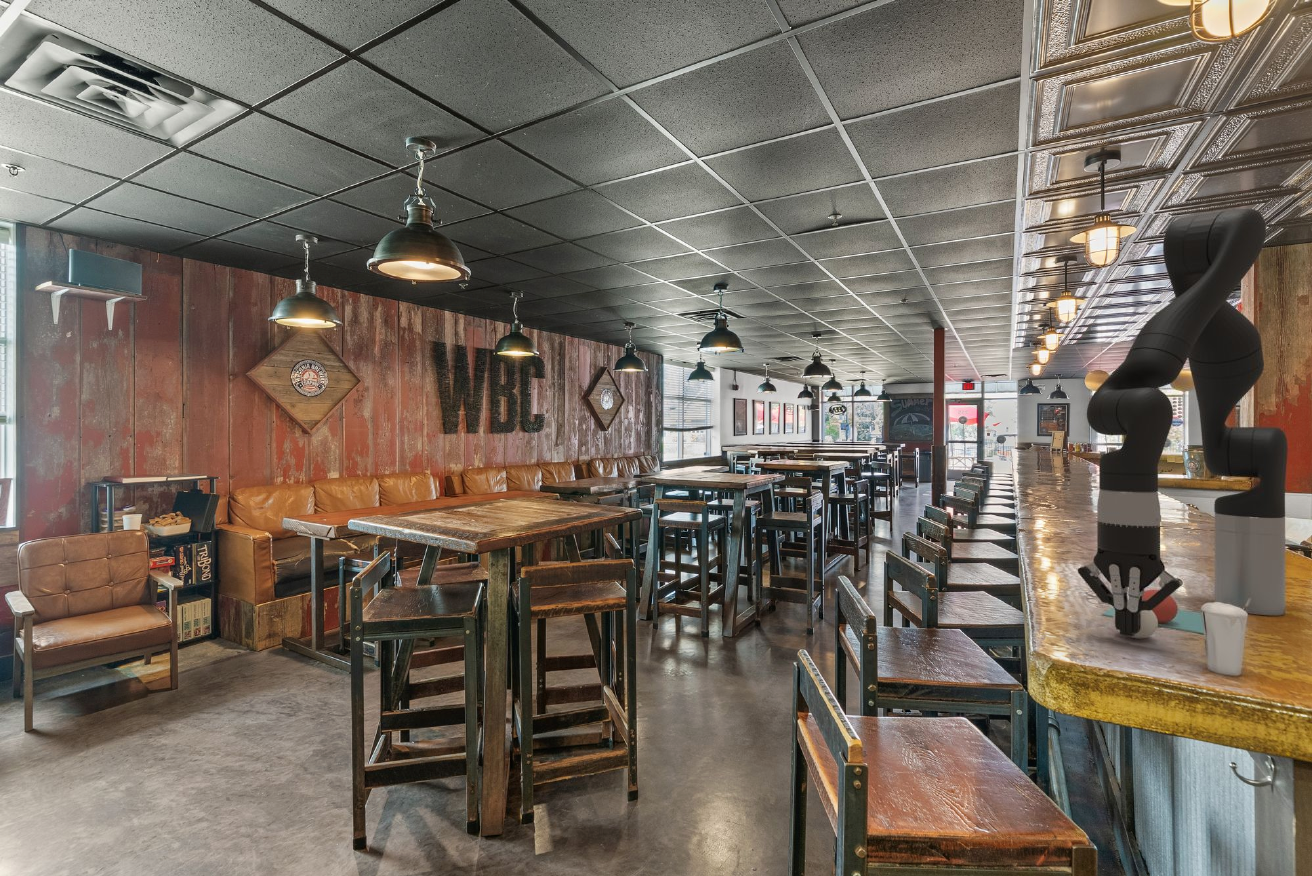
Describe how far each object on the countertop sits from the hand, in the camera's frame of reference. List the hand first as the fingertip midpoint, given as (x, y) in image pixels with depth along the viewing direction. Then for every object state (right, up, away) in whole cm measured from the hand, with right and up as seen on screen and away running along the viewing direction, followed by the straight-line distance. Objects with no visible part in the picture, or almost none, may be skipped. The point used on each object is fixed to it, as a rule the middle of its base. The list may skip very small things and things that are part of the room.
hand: (1128, 634), depth 91 cm
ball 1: (+3, +1, +3) cm, 5 cm away
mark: (+17, -2, +14) cm, 22 cm away
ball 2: (+13, +1, +11) cm, 17 cm away
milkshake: (+5, -2, -11) cm, 12 cm away
